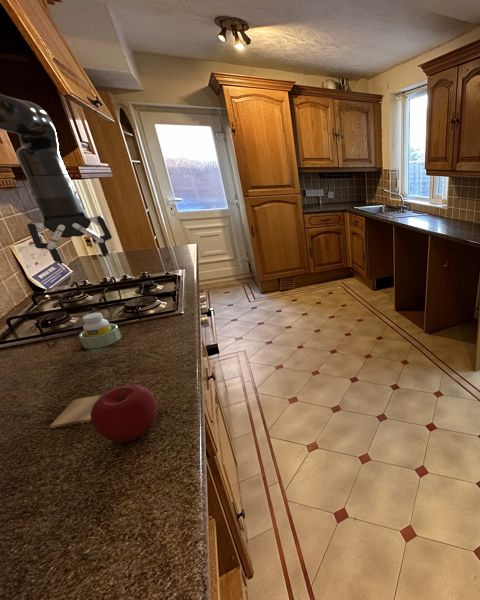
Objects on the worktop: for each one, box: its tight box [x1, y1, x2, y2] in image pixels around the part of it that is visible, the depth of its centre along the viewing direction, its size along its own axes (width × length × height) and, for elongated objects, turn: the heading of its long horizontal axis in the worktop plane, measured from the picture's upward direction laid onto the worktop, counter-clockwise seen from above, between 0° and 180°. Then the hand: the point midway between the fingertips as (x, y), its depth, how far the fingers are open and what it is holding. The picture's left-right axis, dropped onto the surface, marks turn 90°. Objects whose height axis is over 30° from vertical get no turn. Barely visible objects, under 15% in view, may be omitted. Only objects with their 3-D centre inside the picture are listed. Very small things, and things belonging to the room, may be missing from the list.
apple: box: [90, 384, 158, 443], centre depth 62 cm, size 10×10×10 cm
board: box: [49, 394, 103, 429], centre depth 69 cm, size 10×8×1 cm
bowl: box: [78, 323, 123, 355], centre depth 92 cm, size 8×8×5 cm
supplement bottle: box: [82, 312, 112, 337], centre depth 91 cm, size 5×5×10 cm
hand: (83, 259), depth 84 cm, fingers open, 8 cm apart
